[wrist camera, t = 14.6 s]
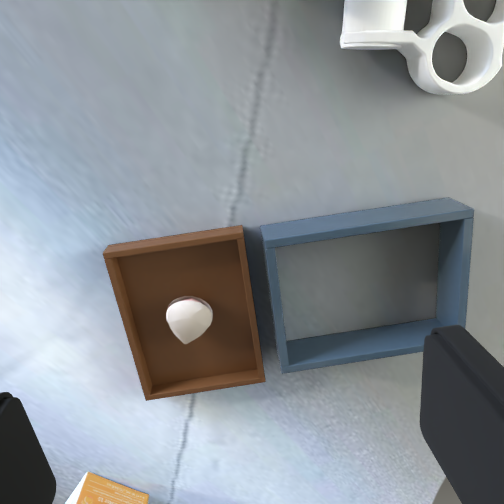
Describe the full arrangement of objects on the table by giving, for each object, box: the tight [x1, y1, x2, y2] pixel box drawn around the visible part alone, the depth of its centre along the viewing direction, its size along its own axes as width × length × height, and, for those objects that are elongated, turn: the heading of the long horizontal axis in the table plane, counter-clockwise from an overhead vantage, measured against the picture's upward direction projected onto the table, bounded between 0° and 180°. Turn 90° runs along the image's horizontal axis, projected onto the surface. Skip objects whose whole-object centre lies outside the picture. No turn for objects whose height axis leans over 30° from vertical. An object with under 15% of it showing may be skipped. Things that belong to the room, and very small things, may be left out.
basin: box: [260, 197, 474, 374], centre depth 38 cm, size 14×18×4 cm
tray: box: [103, 225, 265, 401], centre depth 39 cm, size 16×12×2 cm
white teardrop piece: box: [166, 296, 213, 344], centre depth 38 cm, size 4×5×2 cm
